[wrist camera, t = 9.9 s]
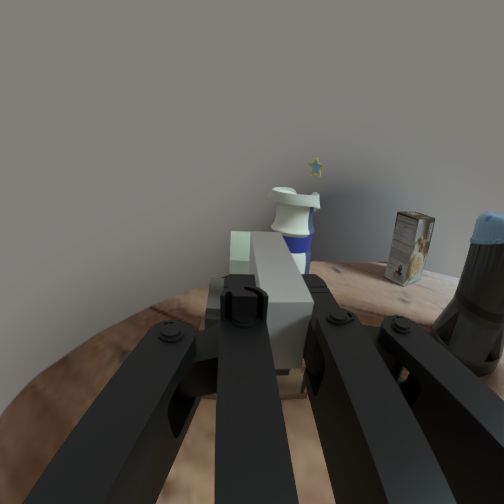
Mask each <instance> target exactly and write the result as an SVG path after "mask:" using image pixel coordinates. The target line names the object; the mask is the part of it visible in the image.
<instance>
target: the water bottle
mask: <svg viewBox="0 0 504 504" xmlns="http://www.w3.org/2000/svg"><path fill="white" fill-rule="evenodd" d="M308 164H309V165H310V167H311V168H312V172H311V175H314V174H317V175H318V176H320V177H321V172H320V170H321V169H322V168H323V167H324V166H325V165H322V164H320V163H319V161H318V158H316V160H315V162H314V163H308ZM267 199H268V200H271V201H274V202H276V209H277V215H276V218H275V221H274V223H273V224H272V225H271V227H272V229H273V232H281V234H282V236H283V238H284V240H285V242H286V244H287V246H288V248H289V250H290V253H291V255H292V257H293V259H294V261H295V263H296V265H297V267H298V269H299V271H300V273H301V274H309V268H310V260H311V254H310V244H311V236H312V234H313V233H314V228H313V225H312V215H313V211H316V210H317V209H320V203H319V194H318V193H317V192H314V193H313V194H312V195H299V194H296V191H295V190H294V189H292V188H285V187H277V188H273V189H272V191H271V193H270V194H269V195H268V197H267Z"/></svg>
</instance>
